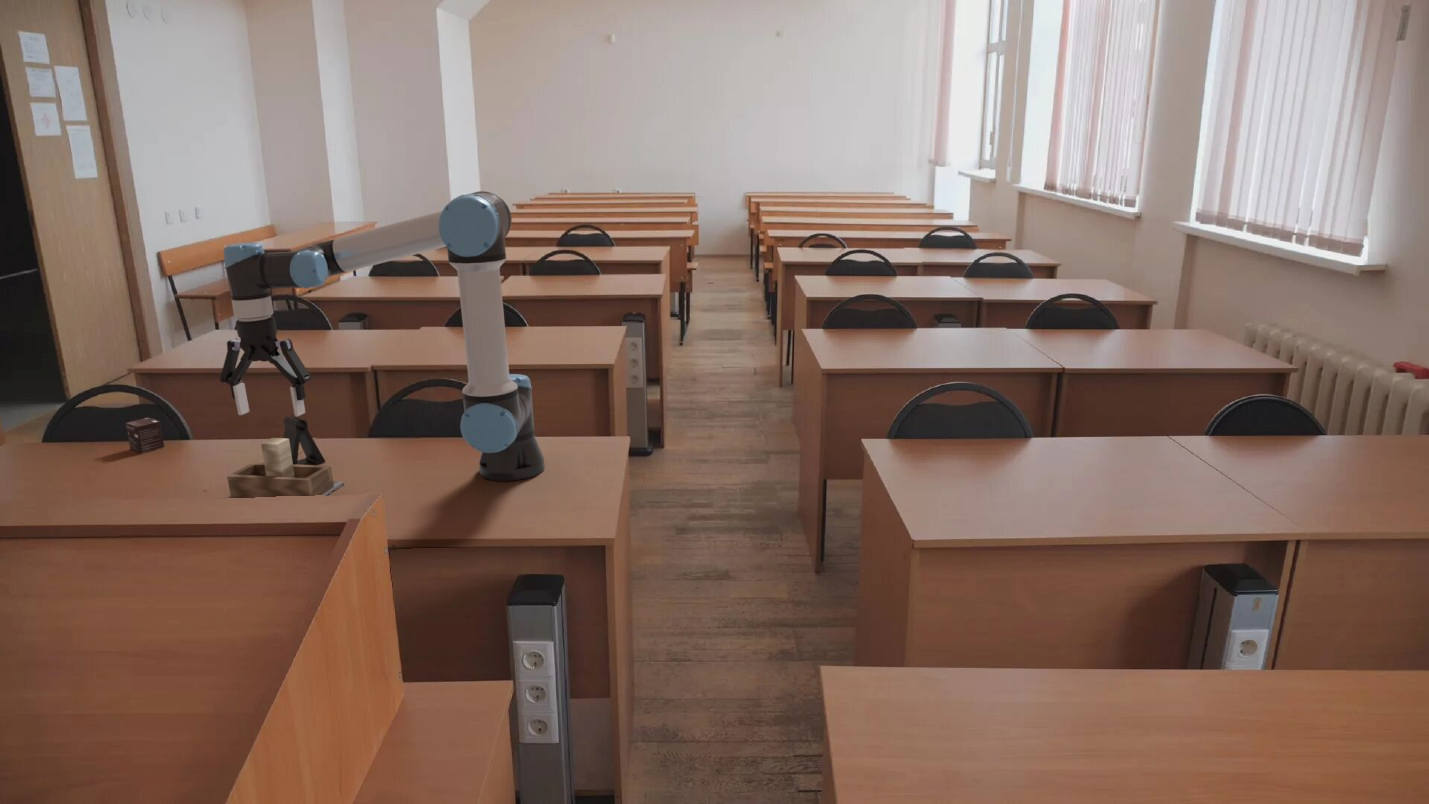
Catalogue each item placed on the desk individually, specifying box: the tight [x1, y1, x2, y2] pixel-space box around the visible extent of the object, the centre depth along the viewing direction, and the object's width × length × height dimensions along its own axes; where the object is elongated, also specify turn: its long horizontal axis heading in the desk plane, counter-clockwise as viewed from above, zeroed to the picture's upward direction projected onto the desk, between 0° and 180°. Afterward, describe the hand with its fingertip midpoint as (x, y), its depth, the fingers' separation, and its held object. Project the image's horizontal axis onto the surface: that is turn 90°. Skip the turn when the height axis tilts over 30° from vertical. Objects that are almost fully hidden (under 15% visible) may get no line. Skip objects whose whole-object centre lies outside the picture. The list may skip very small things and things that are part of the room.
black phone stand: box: [282, 414, 326, 466], centre depth 227 cm, size 9×6×12 cm, turn 138°
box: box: [125, 416, 165, 454], centre depth 242 cm, size 6×6×7 cm
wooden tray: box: [226, 462, 345, 498], centre depth 208 cm, size 20×16×6 cm
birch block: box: [260, 437, 295, 478], centre depth 207 cm, size 4×4×12 cm
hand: (271, 414), depth 204 cm, fingers open, 13 cm apart
